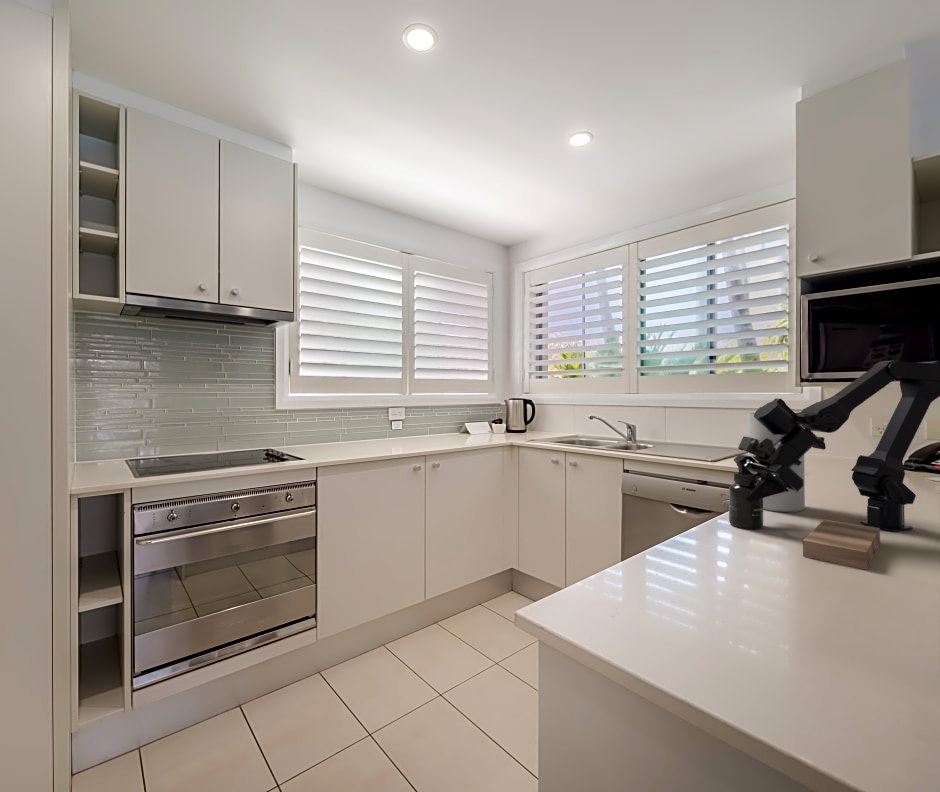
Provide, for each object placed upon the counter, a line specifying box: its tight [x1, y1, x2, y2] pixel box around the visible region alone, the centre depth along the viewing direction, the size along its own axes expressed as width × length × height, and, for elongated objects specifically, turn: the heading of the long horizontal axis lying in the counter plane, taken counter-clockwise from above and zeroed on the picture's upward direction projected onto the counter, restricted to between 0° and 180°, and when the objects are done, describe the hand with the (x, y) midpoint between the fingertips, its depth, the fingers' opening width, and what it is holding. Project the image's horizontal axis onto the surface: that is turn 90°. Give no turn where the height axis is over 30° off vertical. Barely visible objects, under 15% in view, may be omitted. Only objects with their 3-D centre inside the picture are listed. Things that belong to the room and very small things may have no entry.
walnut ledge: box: [802, 519, 881, 570], centre depth 88 cm, size 20×9×3 cm, turn 133°
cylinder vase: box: [747, 412, 806, 513], centre depth 122 cm, size 12×12×25 cm
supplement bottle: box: [728, 471, 764, 530], centre depth 105 cm, size 7×7×12 cm
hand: (739, 497), depth 105 cm, fingers closed on supplement bottle, 7 cm apart
